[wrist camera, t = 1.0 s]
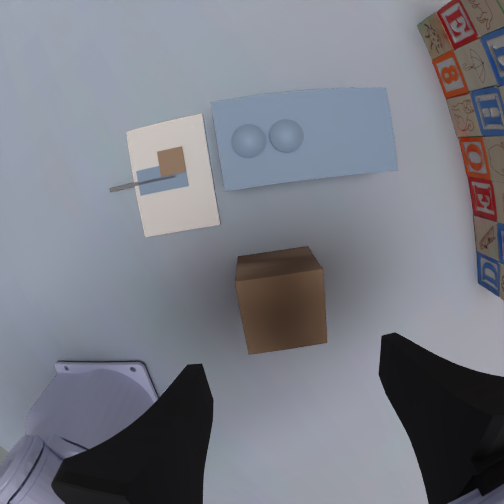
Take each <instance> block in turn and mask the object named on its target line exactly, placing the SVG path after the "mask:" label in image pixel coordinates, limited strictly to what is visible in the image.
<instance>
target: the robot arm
mask: <svg viewBox="0 0 504 504" xmlns="http://www.w3.org/2000/svg"><path fill="white" fill-rule="evenodd" d="M67 367H68V368H67ZM132 367H134V368H135V369H133V368H132ZM55 368H56V370H57V372H58V374H57V375H56V376H55V378H54V379H53V380H52V382H51V383H50V384H49V385H48V387H47V388H46V389H45V391H44V392H43V393H42V395H41V396H40V397H39V398H38V400H37V401H36V402H35V404H34V405H33V407H32V408H31V409H30V411H29V413H28V416H27V419H26V425H25V434H26V435H25V436H24V437H22V438H21V439H20V440H19V441H18V442H17V444H16V445H15V446H14V447H13V448H12V450H11V451H10V452H9V454H8V455H7V456H6V458H5V459H4V461H3V462H2V464H1V465H0V504H203V478H204V467H205V461H206V455H207V450H208V444H209V439H210V433H211V428H212V422H213V397H212V394H211V391H210V388H209V385H208V381H207V378H206V375H205V372H204V368H203V365H202V364H190V365H187V366H186V367H185V368H184V369H183V371H182V372H181V373H180V374H179V375H178V377H177V378H176V379H175V380H174V381H173V383H172V384H171V385H170V386H169V387H168V389H167V390H166V391H165V392H164V393H163V394H162V395H161V397H160V398H159V399H158V396H157V394H156V392H155V389H154V387H153V385H152V382H151V380H150V377H149V375H148V373H147V370H146V367H145V366H144V364H142V363H140V362H112V363H89V362H57V363H56V364H55ZM379 377H380V379H381V382H382V385H383V388H384V390H385V393H386V395H387V397H388V399H389V400H390V402H391V404H392V406H393V408H394V410H395V411H396V413H397V415H398V417H399V419H400V421H401V422H402V424H403V426H404V428H405V430H406V432H407V434H408V436H409V438H410V441H411V443H412V446H413V449H414V452H415V454H416V457H417V460H418V464H419V467H420V470H421V473H422V477H423V481H424V485H425V489H426V493H427V498H428V503H429V504H504V377H501V376H495V375H490V374H486V373H482V372H478V371H475V370H471V369H469V368H466V367H463V366H460V365H457V364H455V363H452V362H450V361H448V360H446V359H444V358H442V357H439V356H437V355H435V354H434V353H432V352H430V351H428V350H426V349H424V348H422V347H421V346H419V345H417V344H415V343H414V342H412V341H410V340H408V339H407V338H405V337H403V336H401V335H399V334H397V333H391V334H387V335H383V336H382V339H381V353H380V365H379Z"/></svg>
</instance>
